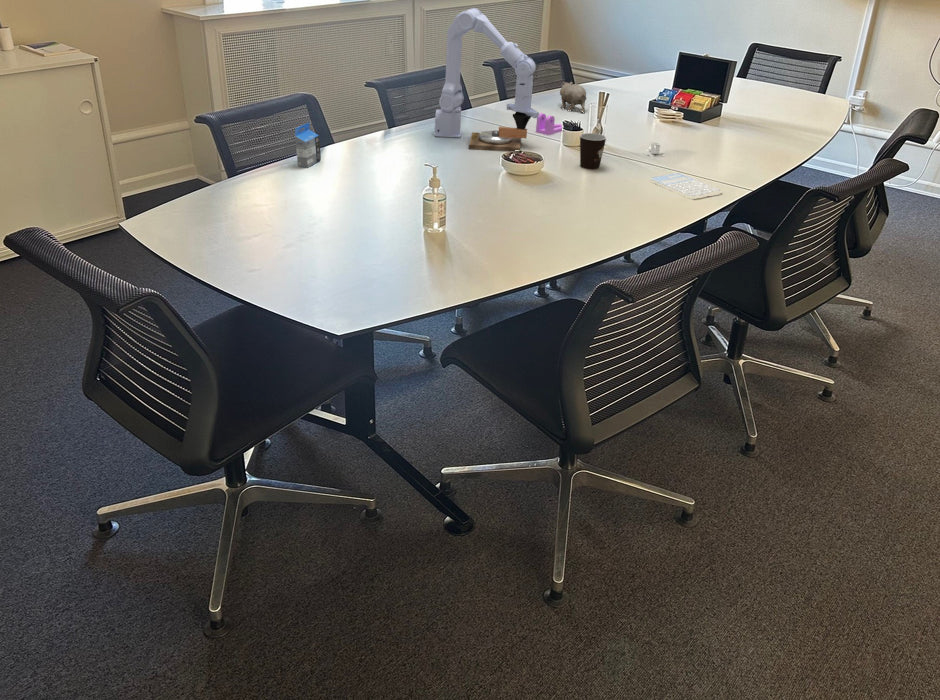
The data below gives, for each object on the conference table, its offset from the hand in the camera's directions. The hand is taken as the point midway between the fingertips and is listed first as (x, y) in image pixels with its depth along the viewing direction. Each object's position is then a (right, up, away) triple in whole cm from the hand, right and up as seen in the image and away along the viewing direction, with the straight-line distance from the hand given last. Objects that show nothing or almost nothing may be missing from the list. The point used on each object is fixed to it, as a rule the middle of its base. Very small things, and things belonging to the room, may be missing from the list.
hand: (520, 134), depth 292 cm
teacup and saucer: (+50, -8, -1) cm, 51 cm away
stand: (-9, -3, +1) cm, 10 cm away
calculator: (+50, -26, -33) cm, 65 cm away
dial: (-7, -2, 0) cm, 7 cm away
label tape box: (-70, -17, -27) cm, 77 cm away
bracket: (+13, +6, +20) cm, 25 cm away
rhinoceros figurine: (+24, +24, +52) cm, 62 cm away
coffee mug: (+23, -16, -17) cm, 33 cm away
